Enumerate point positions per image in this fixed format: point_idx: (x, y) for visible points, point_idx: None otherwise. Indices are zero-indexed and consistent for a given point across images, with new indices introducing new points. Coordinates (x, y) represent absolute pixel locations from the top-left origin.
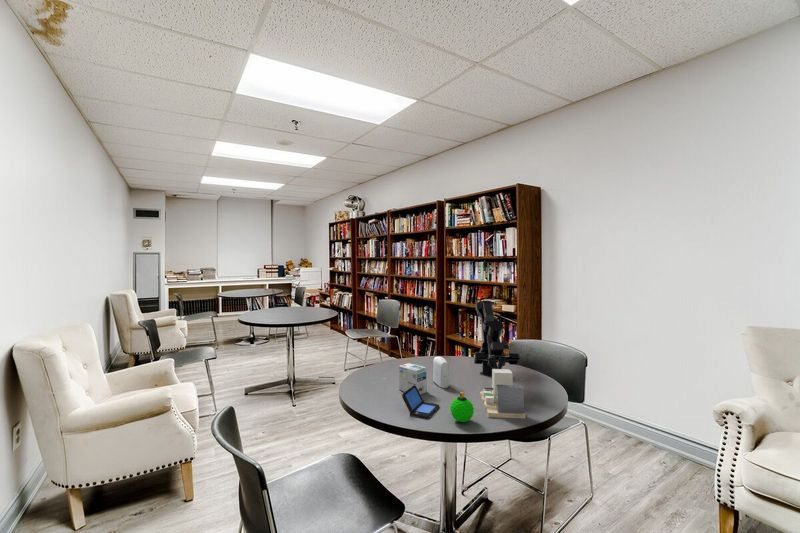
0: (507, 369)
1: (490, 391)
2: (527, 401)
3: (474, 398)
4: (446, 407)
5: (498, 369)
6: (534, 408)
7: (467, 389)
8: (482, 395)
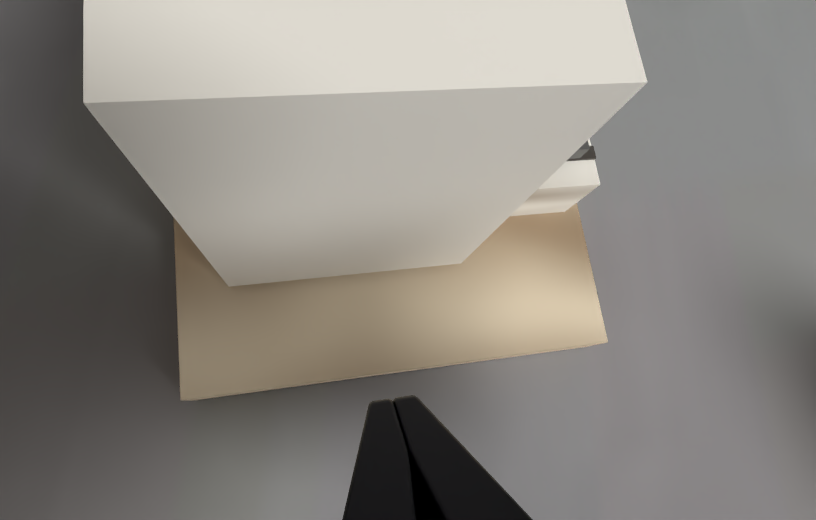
0: (171, 89)
1: None
2: (23, 237)
3: (629, 231)
4: (809, 5)
5: (469, 56)
6: (2, 48)
7: (747, 514)
8: (567, 207)
